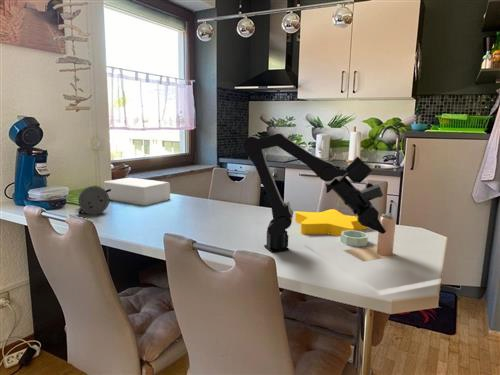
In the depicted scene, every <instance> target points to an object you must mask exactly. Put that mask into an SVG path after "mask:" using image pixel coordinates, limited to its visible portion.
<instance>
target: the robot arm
mask: <svg viewBox="0 0 500 375" xmlns="http://www.w3.org/2000/svg"><path fill="white" fill-rule="evenodd" d="M273 147H279V148H280V149H281V150H283V151H284V152H286V153H288V154H289V155H290V156H292V157H294V158H295V159H297V160H298V161H300V162H302V163H303V164H304V165H306V166H307V167H308V168H309V169H310V170H311V171H312V172H313V173H314V174H315V175H316V176H317V177H318V178H319V179H321V180H322V181H324V182H330V183H325V193H327V194H328V193H330V191H333V193H335V194H336V196H337V197H339V198H340V200H341V201H342V202H343V204H344V205H345V206H347V207H348V208H349V209H350V210H351V211H352V213H353V214H354V215H356V217H357V220H358V222H359V223H360V224H361V225H362V226H366V227H367V229H368V228H369V229H371V230H374V231H376V232H380V233H382V234H384V233H385V232H386V231H385V229H384V228H383V226H382V225H381V223H380V219H379V215H380V214H379V211H378V210H377V208H376V207H375V206H374V205H373V204H372V202H371V201H373V200H374V199H377V198H382V197H383V196H384V193H383V192H382V189H381V186H380V185H379V184H373V183H371V182H368V183H366V184H365V188H364V189H363V190H360V189H359V188H356V186H354V185H353V184H357V183H358V184H361V182H363V181H364V180H365V179H366V178H367V177H368V176H370V175H371V174H372V173H373V172H374V171H373V169H371V167H370V166H369V165H368V164H367V163H366V162H364V161H363V160H362V159H361V158H360V157H359V156H356V157H355V158H354V159H353V160H352V161H351V162H350V163H349V164H348V165H347V166H345V167H343V166H339V165H334V163H333V162H330V161H328V160H326V159H324V158H321V157H319V156H316V155H314V154H313V153H311V152H310V151H308V150H306V149H305V148H303V147H301V146H300V145H299V144H297V143H296V142H294V141H292V140H291V139H290V138H288V137H286V136H285V135H284V133H279V132H278V133H276V134H275V133H274V134H272V135H268V136H267V135H266V136H262V137H259V136H258V135H257V136H256V135H253V136H249V137H247V138H246V139H244V141H243V143H242V148H243V150H244V152H245V154H246V156H247V157H248V159H249V161H251V162H252V164H253V166H254V167H255V168H256V171H257V174H258V177H259V179H260V181H261V184H262V186H263V188H264V191H265V194H266V196H267V198H268V201H269V203H270V206H271V213H272V214H271V215H272V219H271V220H270V221H269V223H268V226H267V230H266V244H263V245H264V246H263V247H265V249H267V250H268V251H270V252H271V253H279V252H286V251H287V252H288V251H290V249H289V235H288V231H287V229H289V228H291V225H292V222H293V217H294V211H293V209H292V208H291V204H290V201H288V202H285V201H284V199H283V198H282V196H281V193H280V191H279V189H278V187H277V184H276V181H275V179H274V176H273V173H272V172H271V169H270V167H269V164H268V162H267V156H266V150H265V149H269V148H273ZM347 177H348V178H349V179H350V180H349V179H348V178H347ZM351 182H353V184H352V183H351Z"/></svg>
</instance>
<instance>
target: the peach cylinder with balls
mask: <svg viewBox="0 0 500 375" xmlns="http://www.w3.org/2000/svg"><path fill="white" fill-rule="evenodd" d="M396 220H397V218H396V217H395V216H393V213H391V212H388V213H382V214H381V216H379V221H380V223H381V225H382V226H383V228H384V229H385V231H386V232H385V233H384V234H382V233H380V232H378V231H377V232H378V235H377V244H376V246H377V254H379V255H382V256H392V255H393V253H394V244H395V234H396V233H395V232H396V224H397V223H396V222H397V221H396Z"/></svg>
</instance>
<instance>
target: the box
mask: <svg viewBox="0 0 500 375" xmlns="http://www.w3.org/2000/svg"><path fill="white" fill-rule="evenodd" d="M103 189H104V190H105V191H106V190H108V189H111V191H109V192H107V194H108V196H109V199H110V200H111V201H116V202H122V203H127V204H133V205H138V204H140V205H139V206H144V205H146V206H149V204H150V205H153V203H154V204H156V203H160V202H161V203H162V202H165V201H169V200H171V183H170V181H169V182H168V181H162V180H161V181H160V180H152V179H145V178H144V179H143V178H136V177H124V178H117V179H110V180H106V181H105V180H104V181H103ZM168 199H169V200H168ZM110 200H109V201H110Z"/></svg>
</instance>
